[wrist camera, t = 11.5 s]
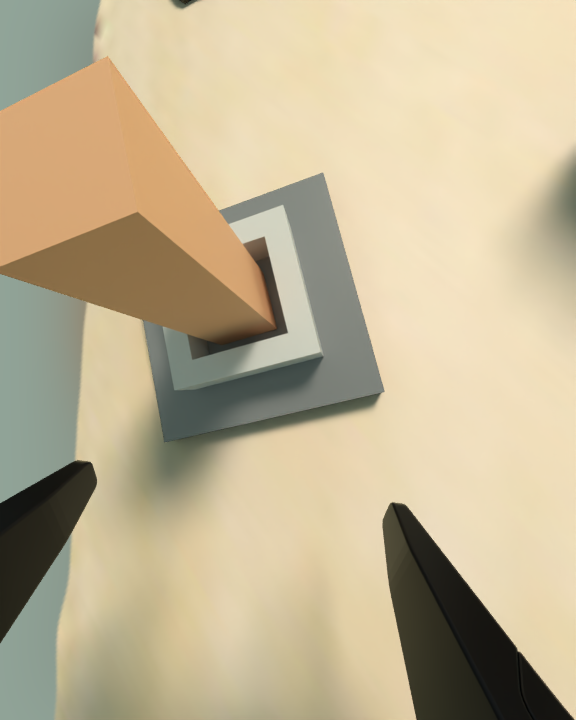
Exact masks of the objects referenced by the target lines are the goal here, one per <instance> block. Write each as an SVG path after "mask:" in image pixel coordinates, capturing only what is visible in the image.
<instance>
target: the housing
mask: <svg viewBox="0 0 576 720" xmlns="http://www.w3.org/2000/svg"><path fill="white" fill-rule="evenodd" d="M219 212H220V213H221V215H222V216H223V217H224V219H225V220H226V222H227V223H228V224H229V226H230V227H231V229H232V230H233V231H234V233H235V234H236V236H237V237H238V238H239V240H240V241H241V243H242V244H243V245H244V247H245V248H246V249H247V251H248V252H249V254H250V255H251V256H252V258H253V259H254V261H255V262H256V263H257V265H258V266H259V268H260V269H261V270H262V272H263V274H264V278H265V282H266V286H267V290H268V294H269V298H270V302H271V306H272V310H273V314H274V318H275V322H276V326H277V329H276V330H272V331H269V332H265V333H262V334H259V335H255V336H252V337H248V338H245V339H242V340H238V341H235V342H231V343H228V344H225V345H219V344H216V343H213V342H210V341H207V340H204V339H201V338H197V337H194V336H191V335H188V334H185V333H182V332H179V331H176V330H173V329H170V328H166V327H163V326H160V325H157V324H154V323H151V322H148V321H145V320H143V322H144V328H145V334H146V339H147V345H148V351H149V357H150V362H151V368H152V374H153V379H154V385H155V391H156V397H157V402H158V408H159V414H160V419H161V425H162V431H163V437H164V442H169V441H173V440H177V439H182V438H186V437H190V436H195V435H199V434H203V433H208V432H212V431H216V430H221V429H225V428H230V427H234V426H238V425H243V424H247V423H251V422H256V421H260V420H264V419H269V418H273V417H277V416H282V415H286V414H291V413H295V412H299V411H304V410H308V409H312V408H317V407H321V406H325V405H330V404H334V403H338V402H343V401H347V400H352V399H356V398H360V397H365V396H369V395H373V394H378V393H382V392H385V391H384V388H383V384H382V381H381V377H380V374H379V370H378V366H377V363H376V359H375V356H374V352H373V349H372V345H371V341H370V338H369V334H368V331H367V327H366V324H365V320H364V316H363V313H362V309H361V306H360V302H359V299H358V295H357V291H356V288H355V284H354V281H353V277H352V274H351V270H350V266H349V263H348V259H347V256H346V252H345V249H344V245H343V242H342V238H341V234H340V231H339V227H338V224H337V220H336V217H335V213H334V209H333V206H332V202H331V199H330V195H329V192H328V188H327V184H326V181H325V177H324V174H323V173H320V174H318V175H315V176H312V177H310V178H307V179H304V180H301V181H299V182H296V183H293V184H290V185H288V186H285V187H282V188H280V189H277V190H274V191H271V192H269V193H266V194H263V195H261V196H258V197H255V198H252V199H250V200H247V201H244V202H242V203H239V204H236V205H233V206H231V207H228V208H225V209H222V210H220V211H219Z"/></svg>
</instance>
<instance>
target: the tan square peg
mask: <svg viewBox="0 0 576 720" xmlns="http://www.w3.org/2000/svg"><path fill="white" fill-rule="evenodd" d="M0 274H2V275H5V276H8V277H11V278H15V279H18V280H21V281H24V282H27V283H30V284H33V285H36V286H40V287H43V288H46V289H49V290H52V291H55V292H58V293H61V294H64V295H68V296H70V297H73V298H77V299H80V300H83V301H86V302H89V303H92V304H95V305H98V306H101V307H104V308H108V309H111V310H114V311H117V312H120V313H123V314H126V315H129V316H132V317H135V318H139V319H142V320H145V321H148V322H151V323H154V324H157V325H160V326H163V327H166V328H170V329H173V330H176V331H179V332H182V333H185V334H188V335H191V336H194V337H197V338H201V339H204V340H207V341H210V342H213V343H216V344H219V345H225V344H228V343H231V342H235V341H238V340H242V339H245V338H248V337H252V336H255V335H259V334H262V333H265V332H269V331H272V330H276V329H277V326H276V322H275V318H274V314H273V310H272V306H271V302H270V298H269V294H268V290H267V286H266V282H265V278H264V274H263V272H262V270H261V269H260V268H259V266H258V265H257V263H256V262H255V261H254V259H253V258H252V256H251V255H250V254H249V252H248V251H247V249H246V248H245V247H244V245H243V244H242V243H241V241H240V240H239V238H238V237H237V236H236V234H235V233H234V231H233V230H232V229H231V227H230V226H229V224H228V223H227V222H226V220H225V219H224V217H223V216H222V215H221V213H220V212H219V210H218V209H217V208H216V206H215V205H214V203H213V202H212V201H211V199H210V198H209V197H208V195H207V194H206V192H205V191H204V190H203V188H202V187H201V185H200V184H199V183H198V181H197V180H196V178H195V177H194V176H193V174H192V173H191V171H190V170H189V169H188V167H187V166H186V164H185V163H184V162H183V160H182V159H181V157H180V156H179V155H178V153H177V152H176V151H175V149H174V148H173V146H172V145H171V144H170V142H169V141H168V139H167V138H166V137H165V135H164V134H163V132H162V131H161V130H160V128H159V127H158V125H157V124H156V123H155V121H154V120H153V118H152V117H151V116H150V114H149V113H148V111H147V110H146V109H145V107H144V106H143V105H142V103H141V102H140V100H139V99H138V98H137V96H136V95H135V93H134V92H133V91H132V89H131V88H130V86H129V85H128V84H127V82H126V81H125V79H124V78H123V77H122V75H121V74H120V72H119V71H118V70H117V68H116V67H115V65H114V64H113V63H112V61H111V60H110V59H109V57H108V56H107V57H105V58H103V59H101V60H99V61H97V62H95V63H93V64H91V65H89V66H87V67H86V68H84V69H82V70H80V71H78V72H76V73H74V74H72V75H70V76H68V77H66V78H64V79H62V80H60V81H58V82H56V83H54V84H52V85H50V86H48V87H46V88H45V89H43V90H41V91H39V92H37V93H35V94H33V95H31V96H29V97H27V98H25V99H23V100H21V101H19V102H17V103H15V104H13V105H11V106H9V107H7V108H5V109H3V110H1V111H0Z"/></svg>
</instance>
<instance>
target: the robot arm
mask: <svg viewBox="0 0 576 720" xmlns="http://www.w3.org/2000/svg"><path fill="white" fill-rule="evenodd" d="M96 485H97V478H96V474H95V471H94V468H93V465H92V463H91V462H88V461H80V460H77V461H74V462H72V463H70V464H68V465H67V466H65V467H63V468H61V469H60V470H58V471H56V472H54V473H53V474H51V475H49V476H47V477H46V478H44V479H42V480H40V481H39V482H37V483H35V484H33V485H31V486H30V487H28V488H26V489H25V490H23V491H21V492H19V493H17V494H16V495H14V496H12V497H10V498H9V499H7V500H5V501H3V502H2V503H0V643H1V641H2V640H3V638H4V637H5V635H6V633H7V632H8V631H9V629H10V628H11V626H12V624H13V623H14V622H15V620H16V619H17V617H18V615H19V614H20V612H21V611H22V609H23V608H24V606H25V605H26V603H27V602H28V600H29V599H30V597H31V596H32V594H33V592H34V591H35V589H36V588H37V586H38V585H39V583H40V582H41V580H42V579H43V577H44V576H45V574H46V572H47V571H48V569H49V568H50V566H51V565H52V563H53V562H54V560H55V559H56V557H57V556H58V554H59V553H60V551H61V550H62V548H63V546H64V545H65V543H66V542H67V540H68V538H69V536H70V535H71V533H72V531H73V529H74V527H75V525H76V524H77V522H78V520H79V518H80V516H81V514H82V512H83V510H84V509H85V507H86V505H87V503H88V501H89V499H90V497H91V495H92V494H93V492H94V490H95V488H96ZM383 535H384V545H385V554H386V563H387V572H388V580H389V587H390V593H391V598H392V603H393V608H394V612H395V617H396V622H397V627H398V632H399V637H400V641H401V646H402V651H403V656H404V661H405V666H406V671H407V675H408V680H409V685H410V690H411V695H412V700H413V704H414V709H415V714H416V719H417V720H574V718H573V717H572V716H571V715H570V714H569V712H568V711H567V710H566V709H565V708H564V706H563V705H562V704H561V703H560V701H559V700H558V699H557V698H556V696H555V695H554V694H553V693H552V691H551V690H550V689H549V688H548V686H547V685H546V684H545V683H544V681H543V680H542V679H541V678H540V676H539V675H538V674H537V673H536V671H535V670H534V669H533V668H532V666H531V665H530V664H529V662H528V661H527V660H526V659H525V657H524V656H523V655H522V653H521V652H518V650H517V647H516V646H515V645H514V643H513V642H512V641H511V639H510V638H509V637H508V636H507V634H506V633H505V632H504V630H503V629H502V628H501V627H500V625H499V624H498V623H497V621H496V620H495V619H494V618H493V616H492V615H491V614H490V612H489V611H488V610H487V609H486V607H485V606H484V605H483V603H482V602H481V601H480V600H479V598H478V597H477V596H476V594H475V593H474V592H473V591H472V589H471V588H470V587H469V585H468V584H467V583H466V582H465V580H464V579H463V578H462V576H461V575H460V574H459V573H458V571H457V570H456V569H455V567H454V566H453V565H452V564H451V562H450V561H449V560H448V558H447V557H446V556H445V555H444V553H443V552H442V551H441V549H440V548H439V547H438V546H437V544H436V543H435V542H434V540H433V539H432V538H431V537H430V535H429V534H428V533H427V531H426V530H425V529H424V528H423V526H422V525H421V524H420V522H419V521H418V520H417V519H416V517H415V516H414V515H413V513H412V512H411V511H410V510H409V508H408V507H407V506H406V505H405V504H401V503H394V502H392V503H390V505H389V507H388V509H387V511H386V513H385V516H384V518H383Z"/></svg>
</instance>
